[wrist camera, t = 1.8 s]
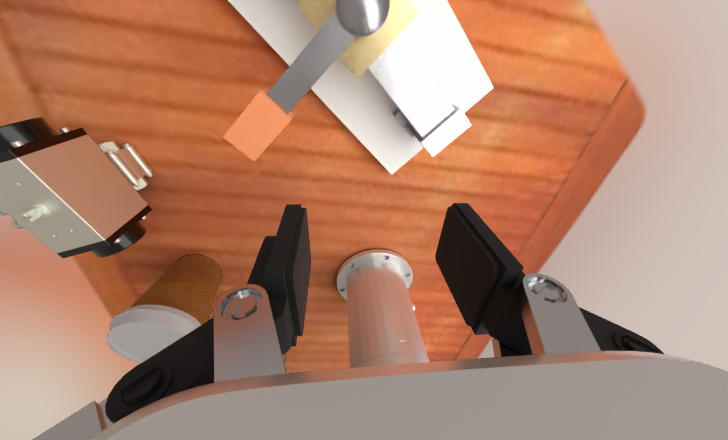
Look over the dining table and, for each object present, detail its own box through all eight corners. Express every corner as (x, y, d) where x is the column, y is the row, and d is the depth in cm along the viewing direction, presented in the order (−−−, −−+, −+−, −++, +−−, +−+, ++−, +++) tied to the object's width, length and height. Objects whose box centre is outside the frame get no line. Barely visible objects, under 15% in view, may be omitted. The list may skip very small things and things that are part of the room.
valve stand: (486, 86, 28) (534, 97, 21) (389, 170, 33) (403, 201, 26) (276, -299, 15) (229, -575, 9) (162, -74, 20) (72, -138, 13)
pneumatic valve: (108, 101, 26) (-36, 133, 16) (182, 199, 32) (113, 265, 22) (59, 116, 26) (-112, 157, 16) (142, 210, 32) (56, 281, 23)
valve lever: (361, -40, 16) (365, -52, 14) (394, 10, 17) (400, 5, 15) (229, 126, 20) (219, 134, 18) (264, 154, 22) (257, 164, 20)
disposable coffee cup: (221, 242, 36) (177, 315, 26) (241, 288, 42) (211, 363, 32) (151, 248, 36) (80, 324, 26) (180, 294, 41) (131, 371, 31)
